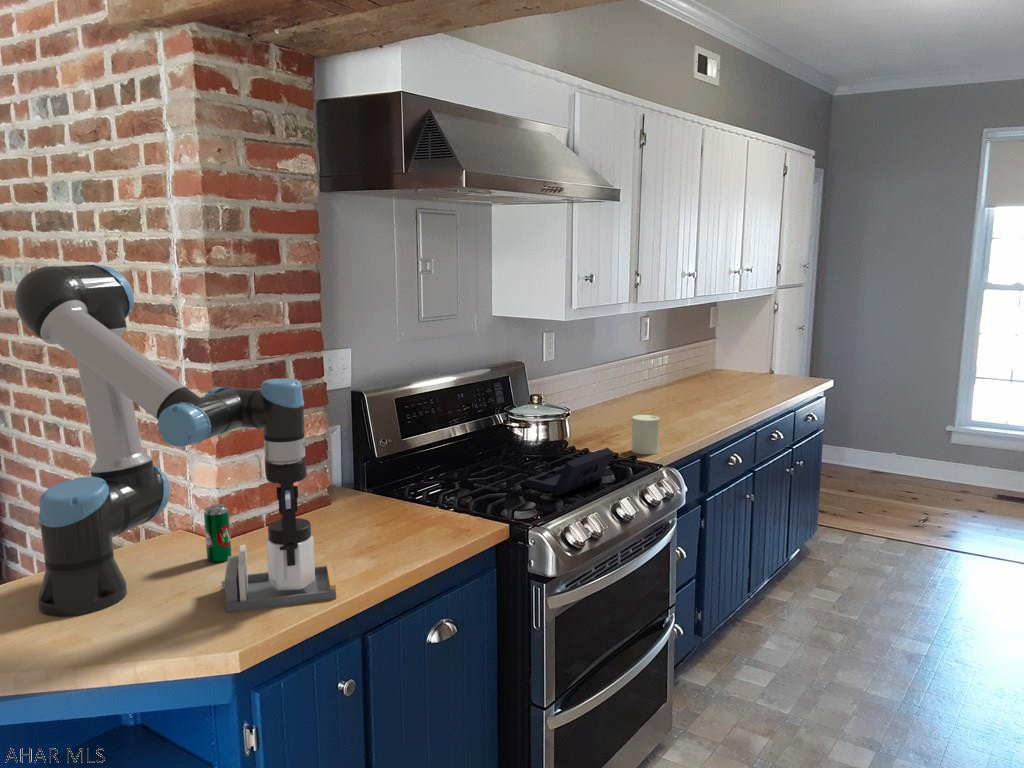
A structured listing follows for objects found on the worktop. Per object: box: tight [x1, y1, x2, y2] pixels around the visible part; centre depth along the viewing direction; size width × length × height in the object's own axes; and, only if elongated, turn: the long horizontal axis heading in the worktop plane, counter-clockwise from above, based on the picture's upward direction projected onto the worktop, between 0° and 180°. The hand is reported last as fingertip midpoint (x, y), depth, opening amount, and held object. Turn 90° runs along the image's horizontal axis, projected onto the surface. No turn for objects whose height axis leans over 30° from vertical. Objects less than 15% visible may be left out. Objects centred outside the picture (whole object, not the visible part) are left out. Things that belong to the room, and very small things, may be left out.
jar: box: [266, 517, 316, 591], centre depth 155 cm, size 9×8×12 cm
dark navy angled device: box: [525, 447, 615, 495], centre depth 228 cm, size 21×16×10 cm
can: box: [630, 414, 661, 456], centre depth 264 cm, size 9×9×12 cm
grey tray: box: [224, 555, 337, 614], centre depth 156 cm, size 20×13×7 cm, turn 107°
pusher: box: [221, 544, 248, 601], centre depth 153 cm, size 4×11×8 cm, turn 17°
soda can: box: [203, 503, 233, 564], centre depth 173 cm, size 5×5×12 cm
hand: (291, 571), depth 156 cm, fingers closed on jar, 7 cm apart
